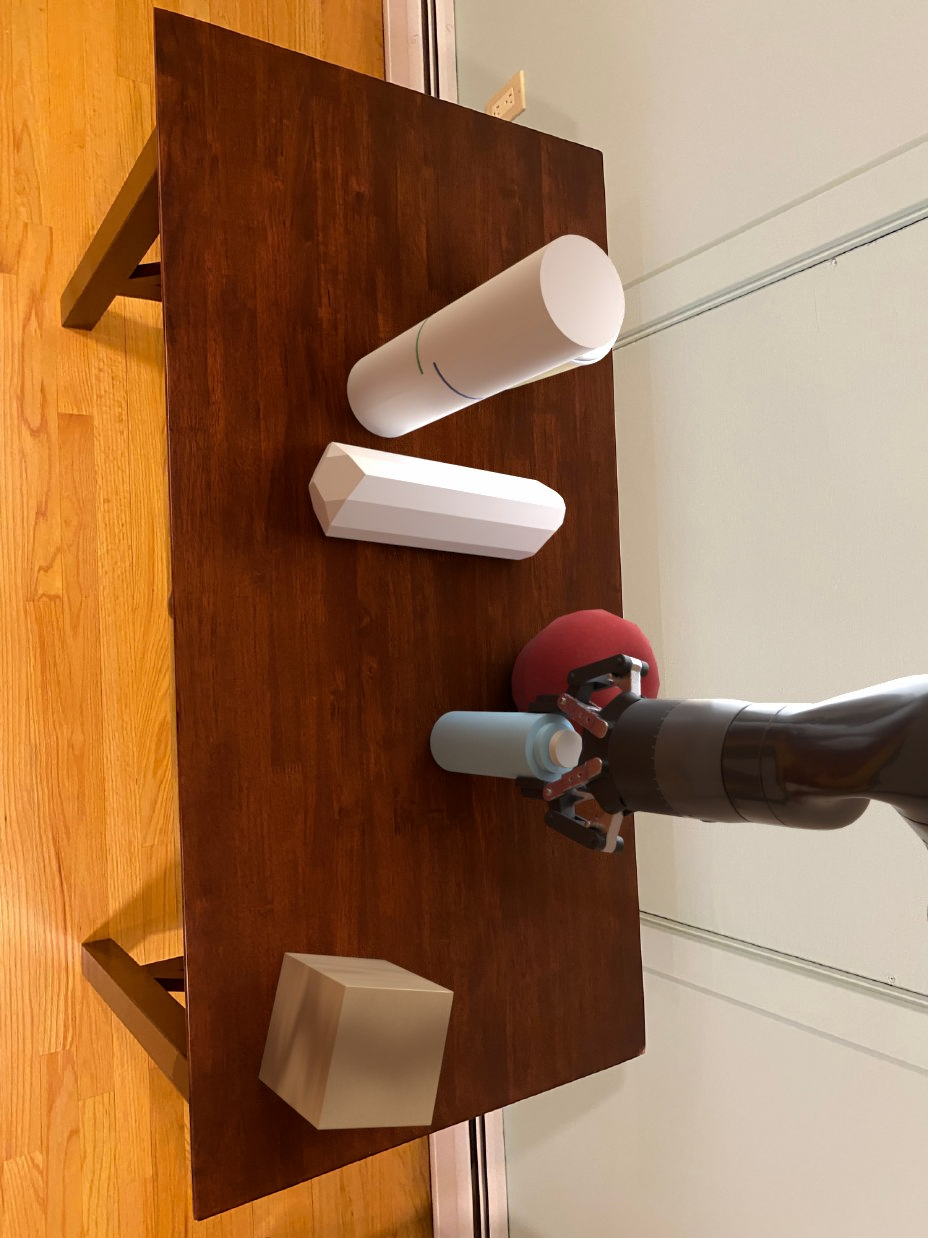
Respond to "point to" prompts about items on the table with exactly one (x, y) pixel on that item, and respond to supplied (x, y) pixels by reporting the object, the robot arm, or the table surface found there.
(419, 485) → the crystal
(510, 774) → the bottle
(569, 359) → the cylindrical container
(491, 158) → the table surface
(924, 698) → the robot arm
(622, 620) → the apple
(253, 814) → the table surface
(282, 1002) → the cube
